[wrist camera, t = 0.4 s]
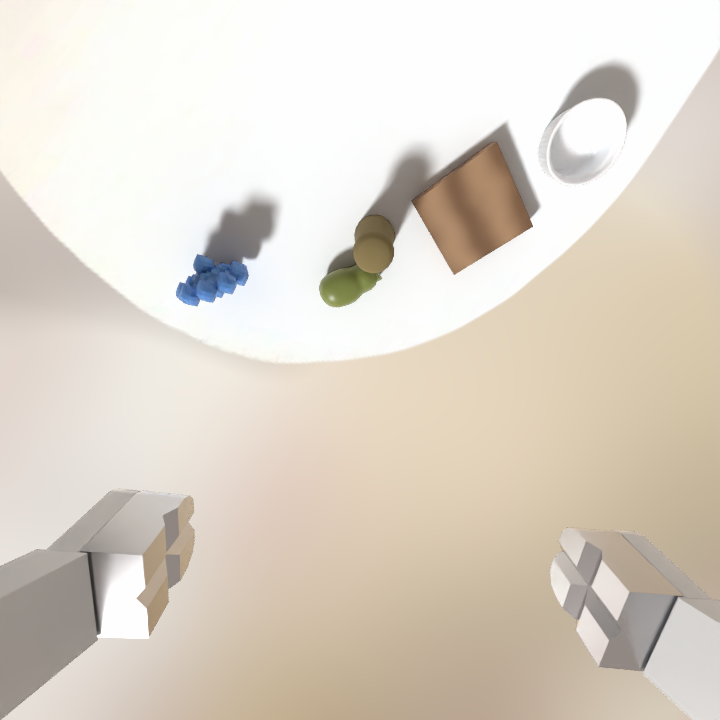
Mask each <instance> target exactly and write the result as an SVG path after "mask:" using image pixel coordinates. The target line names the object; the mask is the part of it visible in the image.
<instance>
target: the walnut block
mask: <svg viewBox="0 0 720 720" xmlns="http://www.w3.org/2000/svg"><path fill="white" fill-rule="evenodd" d="M412 203H413V205H414V206H415V208H416V210H417V212H418V213H419V215H420V217H421V218H422V220H423V222H424V224H425V225H426V227H427V229H428V231H429V232H430V234H431V236H432V238H433V239H434V241H435V243H436V244H437V246H438V248H439V250H440V251H441V253H442V255H443V257H444V258H445V260H446V262H447V263H448V265H449V267H450V269H451V270H452V272H453V274H454V275H455V274H456V273H458V272H460V271H461V270H463V269H464V268H466V267H468V266H469V265H471V264H473V263H474V262H476V261H478V260H479V259H481V258H482V257H484V256H486V255H487V254H489V253H491V252H492V251H494V250H495V249H497V248H499V247H500V246H502V245H504V244H505V243H507V242H509V241H510V240H512V239H513V238H515V237H517V236H518V235H520V234H522V233H523V232H525V231H526V230H528V229H530V228H531V227H533V225H532V223H531V220H530V218H529V216H528V213H527V211H526V209H525V206H524V204H523V202H522V199H521V197H520V195H519V193H518V190H517V188H516V186H515V183H514V181H513V179H512V176H511V174H510V172H509V169H508V167H507V165H506V162H505V160H504V158H503V155H502V153H501V151H500V148H499V146H498V144H497V142H494V143H490V144H489V145H487V146H486V147H485V148H483V149H482V150H481V151H479V152H478V153H476V154H475V155H474V156H472V157H471V158H470V159H468V160H467V161H465V162H464V163H463V164H461V165H460V166H459V167H457V168H456V169H455V170H453V171H452V172H450V173H449V174H448V175H446V176H445V177H444V178H442V179H441V180H439V181H438V182H437V183H435V184H434V185H433V186H431V187H430V188H428V189H427V190H426V191H424V192H423V193H422V194H420V195H419V196H418V197H416V198H415V199H413V200H412Z"/></svg>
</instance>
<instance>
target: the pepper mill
mask: <svg viewBox="0 0 720 720" xmlns="http://www.w3.org/2000/svg"><path fill="white" fill-rule="evenodd" d="M393 242H394V229H393V226H392V224H391V223H390V222H389V220H387V219H386V218H384V217H383V216H379V215H370V216H367V217H365V218H364V219H362V220H361V221H360V222H359V224H358V225H357V227H356V230H355V245H354V249H353V257H354V260H355V262H356V264H357V265H358V266H359V267H360V268H361V269H362V270H364V271H365V272H368V273H378V272H381V271H383V270H385V269H386V268H387V267H388V266H389V265H390V263H391V262H392V260H393V257H394V247H393Z"/></svg>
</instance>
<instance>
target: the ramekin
mask: <svg viewBox="0 0 720 720" xmlns="http://www.w3.org/2000/svg"><path fill="white" fill-rule="evenodd" d="M626 134H627V121H626V116H625V114H624V112H623V110H622V108H621V107H620V106H619V105H618V104H617V103H616V102H615V101H613V100H610V99H607V98H591V99H587V100H585V101H582V102H580V103H578V104H576V105H575V106H573V107H572V108H570V109H568V110H566V111H564V112H563V113H561V114H560V115H558V116H557V117H556V118H555V119H554V120H553V121H552V122H551V123H550V124H549V125H548V127H547V128H546V130H545V131H544V133H543V135H542V137H541V140H540V143H539V148H538V159H539V164H540V166H541V168H542V170H543V171H544V173H545V174H547V175H548V176H549V177H551V178H552V179H555V180H556V181H558V182H559V183H561V184H564V185H567V186H580V185H584V184H587V183H590V182H592V181H594V180H596V179H597V178H599V177H600V176H602V175H603V174H604V173H605V172H606V171H607V170H608V169H609V168H610V167H611V166H612V165H613V164H614V162H615V161H616V159H617V158H618V156H619V154H620V153H621V151H622V149H623V146H624V143H625V139H626Z"/></svg>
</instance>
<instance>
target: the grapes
mask: <svg viewBox="0 0 720 720" xmlns="http://www.w3.org/2000/svg"><path fill="white" fill-rule="evenodd" d="M193 267H194V270H195V271H196V274H195V275H194V274H193V276H192V277H191V276H188V278H187V281H186V284H185V283H181V282H180V283H179V285H178V288H177V291H176V296H177V297H178V298H179V299H180V300H181V301H183V302H184V303H186V304H189V305H193V306H198V304H199V301H200V299H201V300H204V301H207V302H212V303H213V302H214V300H215V298H216V297H220V298H222V296H223V294H224V292H225V293H228V294H233V292H234V290H235V288H236V285H237V284H238V285H242V286H244V285H245V283H246V281H247V279H248V276H249V275H248V271H247V267H246V266H245V265H244V264H242V263H239V262H236V261H232V263H231V265H228V264H226V263H222V262H221V264H220V265H219V264H218V265H217V266H215V265H214V263H213V261H212V260H211V259H210V258H208V257H205V256H202V255H198V254H197V256H196V258H195V261H194V264H193Z"/></svg>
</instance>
